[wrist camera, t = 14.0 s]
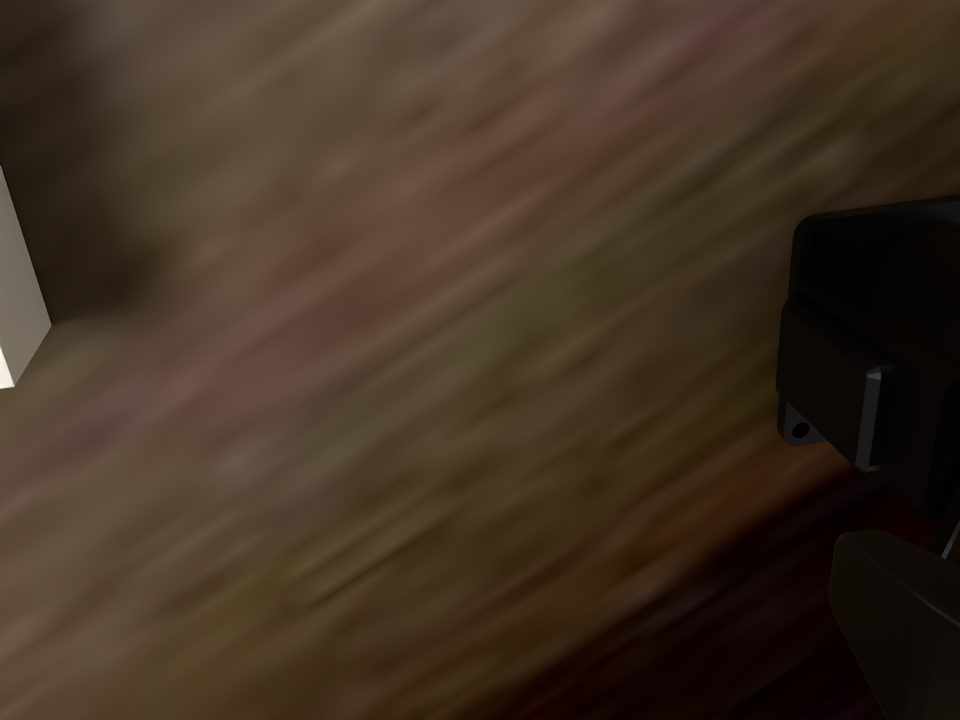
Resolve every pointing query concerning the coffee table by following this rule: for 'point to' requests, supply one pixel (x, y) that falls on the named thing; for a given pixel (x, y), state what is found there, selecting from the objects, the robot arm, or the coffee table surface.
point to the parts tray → (17, 297)
